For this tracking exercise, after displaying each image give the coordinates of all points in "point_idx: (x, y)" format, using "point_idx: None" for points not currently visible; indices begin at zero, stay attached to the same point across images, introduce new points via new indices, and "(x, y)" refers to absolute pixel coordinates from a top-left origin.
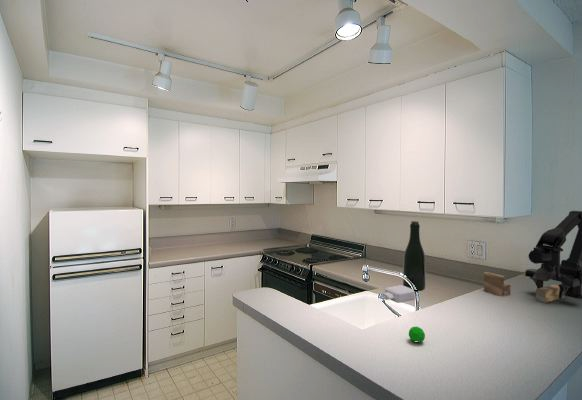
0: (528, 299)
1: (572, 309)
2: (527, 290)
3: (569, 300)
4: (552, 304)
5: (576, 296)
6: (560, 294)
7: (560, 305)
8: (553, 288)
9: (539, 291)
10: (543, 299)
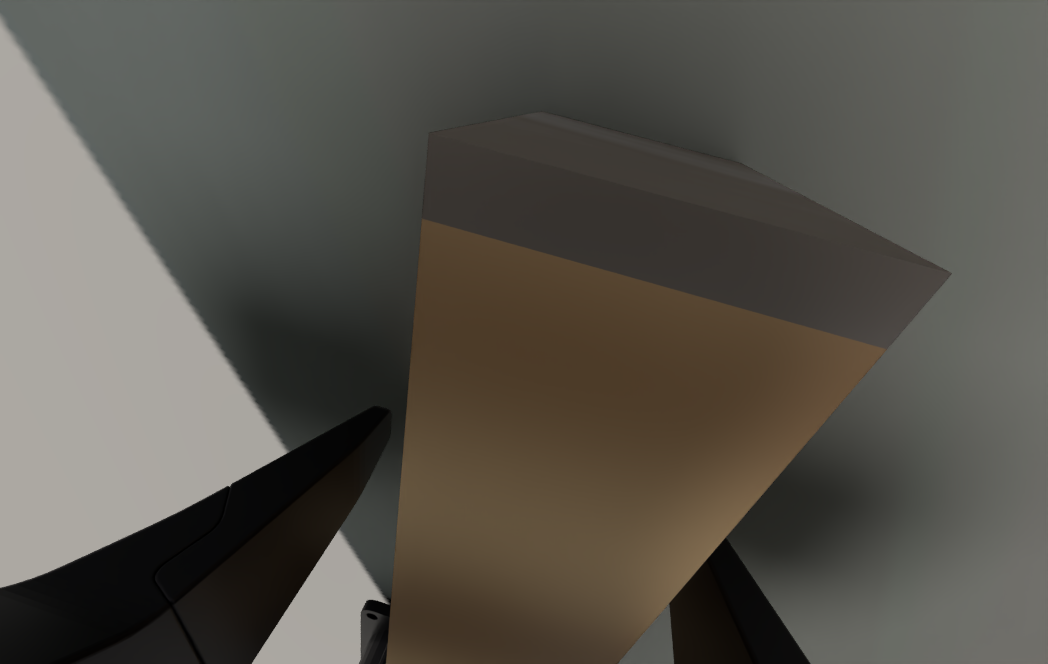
0: (933, 61)
1: (113, 120)
2: (884, 613)
3: (374, 502)
4: (404, 138)
5: (374, 611)
6: (296, 461)
7: (309, 200)
8: (429, 634)
9: (711, 193)
10: (557, 125)
